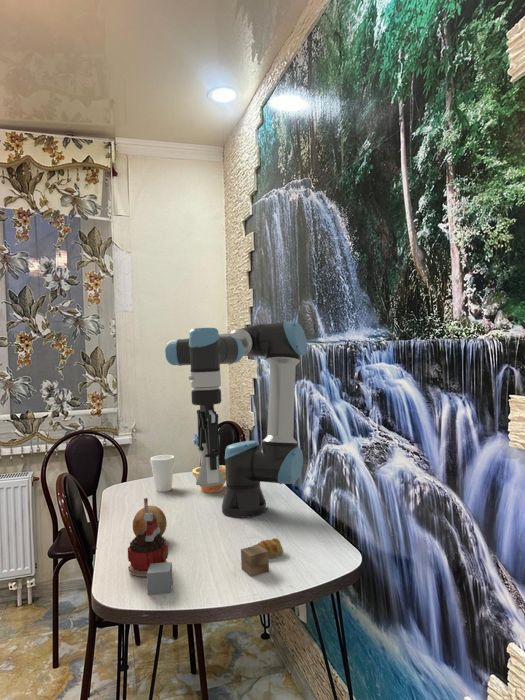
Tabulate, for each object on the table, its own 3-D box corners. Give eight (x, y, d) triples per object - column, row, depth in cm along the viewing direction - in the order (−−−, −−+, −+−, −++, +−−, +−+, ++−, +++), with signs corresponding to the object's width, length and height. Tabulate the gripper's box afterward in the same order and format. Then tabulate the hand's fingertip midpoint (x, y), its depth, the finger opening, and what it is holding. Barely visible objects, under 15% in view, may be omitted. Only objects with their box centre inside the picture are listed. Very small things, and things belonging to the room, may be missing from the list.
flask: (219, 487, 117) (217, 446, 117) (191, 486, 119) (189, 446, 119) (227, 479, 124) (225, 441, 124) (200, 479, 126) (199, 441, 126)
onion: (155, 549, 133) (154, 513, 133) (125, 545, 137) (124, 510, 137) (173, 536, 142) (172, 502, 142) (145, 533, 146) (144, 500, 146)
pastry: (253, 564, 121) (252, 549, 121) (242, 555, 127) (242, 540, 127) (285, 556, 125) (285, 541, 125) (274, 547, 131) (273, 533, 131)
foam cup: (172, 492, 189) (171, 459, 189) (149, 493, 189) (148, 460, 190) (177, 485, 199) (176, 454, 199) (155, 486, 199) (153, 455, 199)
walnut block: (259, 564, 121) (258, 544, 121) (269, 571, 116) (268, 551, 117) (241, 569, 118) (240, 549, 119) (250, 577, 114) (250, 556, 114)
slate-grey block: (172, 583, 113) (171, 562, 113) (170, 593, 108) (169, 571, 108) (151, 585, 112) (150, 563, 112) (147, 595, 107) (146, 573, 107)
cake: (138, 560, 126) (135, 492, 126) (172, 561, 125) (170, 492, 125) (122, 580, 115) (119, 505, 115) (159, 580, 114) (156, 504, 114)
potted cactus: (198, 484, 200) (196, 424, 201) (234, 484, 198) (232, 423, 198) (187, 494, 185) (185, 430, 185) (226, 494, 183) (224, 429, 183)
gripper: (184, 387, 130) (187, 472, 129) (199, 391, 111) (203, 490, 111) (211, 385, 132) (214, 469, 132) (230, 389, 114) (234, 486, 113)
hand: (209, 478), depth 121 cm, fingers closed on flask, 7 cm apart
